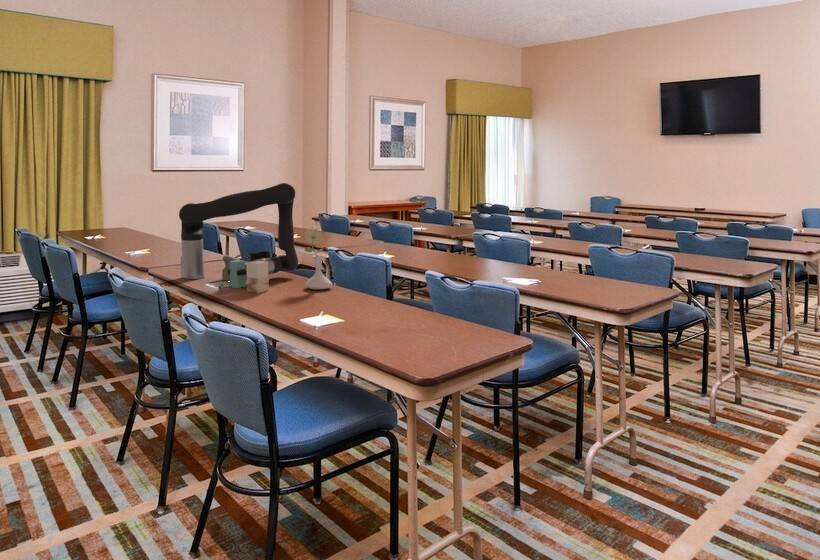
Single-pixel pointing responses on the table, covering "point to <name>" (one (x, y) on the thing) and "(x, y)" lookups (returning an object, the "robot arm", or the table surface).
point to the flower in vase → (316, 262)
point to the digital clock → (227, 267)
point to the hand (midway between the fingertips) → (233, 272)
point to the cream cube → (257, 269)
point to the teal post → (234, 279)
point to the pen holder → (259, 255)
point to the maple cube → (257, 284)
